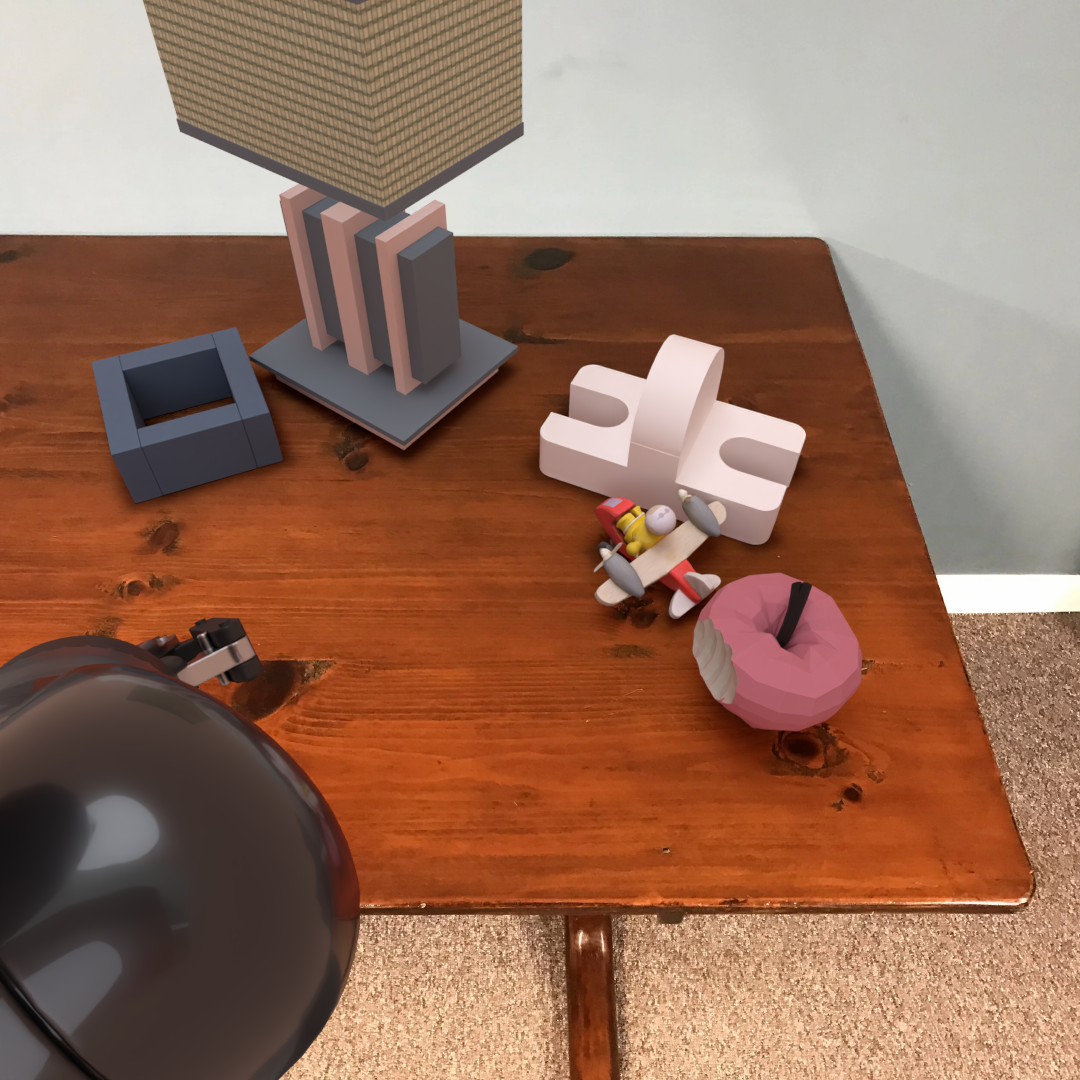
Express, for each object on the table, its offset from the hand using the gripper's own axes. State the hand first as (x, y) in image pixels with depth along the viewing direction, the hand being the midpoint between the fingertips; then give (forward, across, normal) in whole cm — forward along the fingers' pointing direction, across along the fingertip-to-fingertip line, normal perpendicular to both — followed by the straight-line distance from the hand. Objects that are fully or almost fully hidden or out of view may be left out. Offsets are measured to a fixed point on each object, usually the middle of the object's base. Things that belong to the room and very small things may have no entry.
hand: (95, 689), depth 44 cm
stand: (+26, -12, -12) cm, 31 cm away
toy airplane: (+4, -33, +10) cm, 35 cm away
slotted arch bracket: (+10, -41, +5) cm, 42 cm away
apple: (-4, -32, +18) cm, 37 cm away
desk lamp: (+25, -28, -10) cm, 39 cm away
